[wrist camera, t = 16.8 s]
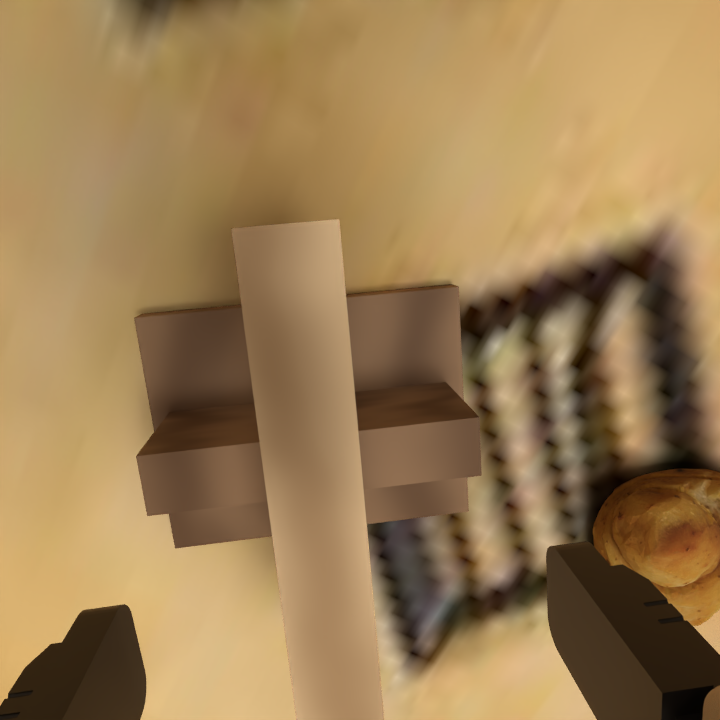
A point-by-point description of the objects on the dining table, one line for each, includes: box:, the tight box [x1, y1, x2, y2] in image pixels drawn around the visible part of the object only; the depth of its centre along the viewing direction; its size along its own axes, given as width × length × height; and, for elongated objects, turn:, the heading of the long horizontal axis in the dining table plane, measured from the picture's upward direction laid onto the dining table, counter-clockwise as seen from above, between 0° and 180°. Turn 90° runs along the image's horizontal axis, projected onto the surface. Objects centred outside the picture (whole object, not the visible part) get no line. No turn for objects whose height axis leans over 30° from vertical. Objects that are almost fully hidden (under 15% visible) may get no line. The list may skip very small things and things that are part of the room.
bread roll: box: [593, 469, 720, 626], centre depth 35 cm, size 13×10×8 cm
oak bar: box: [231, 219, 384, 720], centre depth 24 cm, size 4×22×6 cm, turn 5°
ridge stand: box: [134, 284, 481, 548], centre depth 31 cm, size 18×14×8 cm
